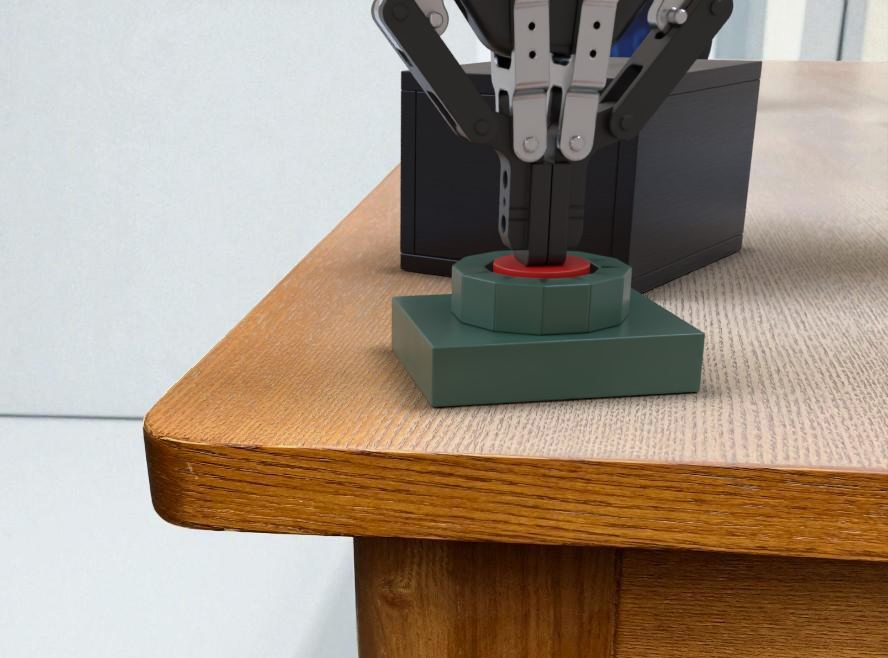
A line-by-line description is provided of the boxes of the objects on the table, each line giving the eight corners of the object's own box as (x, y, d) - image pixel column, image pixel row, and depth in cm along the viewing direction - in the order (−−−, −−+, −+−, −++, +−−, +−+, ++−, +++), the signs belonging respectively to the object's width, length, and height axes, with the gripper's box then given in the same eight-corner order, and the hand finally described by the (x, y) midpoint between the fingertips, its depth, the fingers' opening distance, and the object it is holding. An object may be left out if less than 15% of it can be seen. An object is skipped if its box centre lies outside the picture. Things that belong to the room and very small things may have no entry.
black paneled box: (537, 227, 78) (544, 55, 74) (741, 249, 71) (762, 60, 67) (399, 270, 67) (400, 70, 63) (625, 301, 60) (642, 79, 56)
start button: (570, 295, 51) (573, 251, 50) (600, 317, 47) (603, 269, 47) (481, 299, 50) (483, 254, 49) (505, 321, 47) (507, 274, 46)
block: (624, 337, 54) (631, 241, 52) (700, 392, 47) (711, 282, 45) (391, 349, 53) (391, 251, 51) (431, 407, 45) (433, 295, 44)
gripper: (714, -257, 45) (669, 237, 52) (345, -263, 44) (349, 249, 51) (815, -299, 39) (748, 276, 46) (382, -308, 37) (381, 291, 44)
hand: (537, 261), depth 48 cm, fingers closed
